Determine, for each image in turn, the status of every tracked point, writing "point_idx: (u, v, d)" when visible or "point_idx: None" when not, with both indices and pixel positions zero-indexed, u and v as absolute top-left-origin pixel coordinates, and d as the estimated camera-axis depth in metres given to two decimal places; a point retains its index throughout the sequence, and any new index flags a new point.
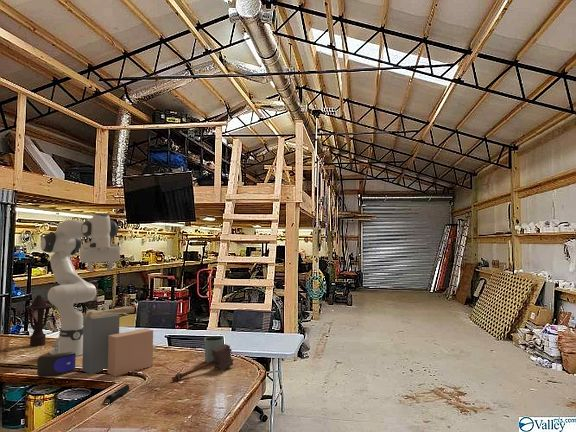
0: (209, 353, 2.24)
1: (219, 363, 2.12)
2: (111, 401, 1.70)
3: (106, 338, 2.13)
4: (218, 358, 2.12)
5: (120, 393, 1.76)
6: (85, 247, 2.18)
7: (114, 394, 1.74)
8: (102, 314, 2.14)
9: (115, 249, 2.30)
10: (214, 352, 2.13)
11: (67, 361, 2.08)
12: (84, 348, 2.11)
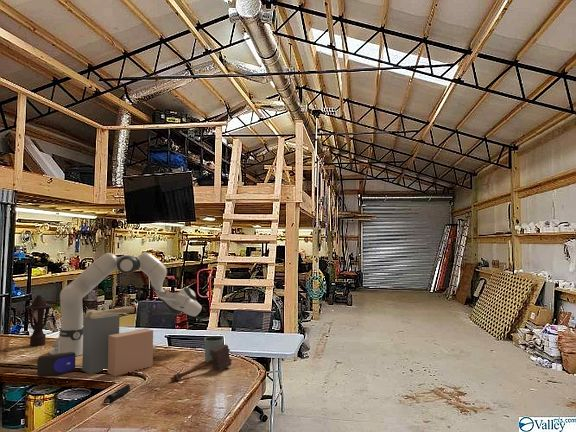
0: None
1: (217, 363, 2.12)
2: (111, 401, 1.70)
3: (106, 338, 2.13)
4: (216, 358, 2.12)
5: (120, 393, 1.77)
6: (185, 303, 2.44)
7: (114, 394, 1.74)
8: (102, 314, 2.14)
9: (166, 301, 2.53)
10: (212, 352, 2.13)
11: (67, 361, 2.08)
12: (84, 348, 2.11)
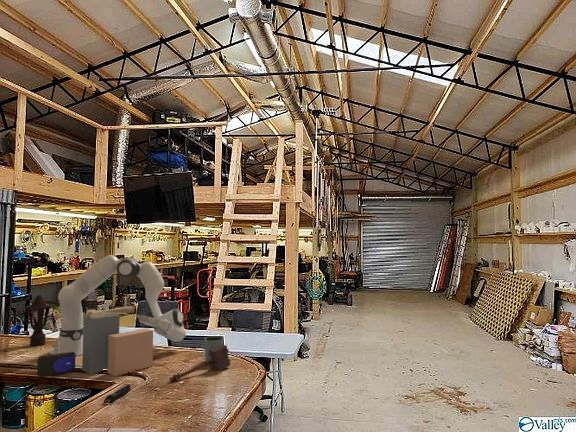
0: None
1: (216, 363, 2.12)
2: (111, 401, 1.70)
3: (106, 338, 2.13)
4: (215, 358, 2.12)
5: (121, 393, 1.77)
6: (168, 329, 2.35)
7: (115, 394, 1.74)
8: (102, 314, 2.14)
9: (149, 325, 2.44)
10: (211, 352, 2.13)
11: (67, 361, 2.08)
12: (84, 348, 2.11)
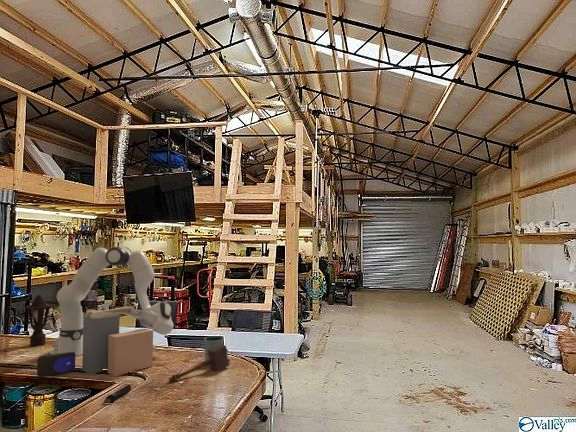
0: None
1: (215, 363, 2.12)
2: (112, 401, 1.70)
3: (106, 338, 2.13)
4: (214, 358, 2.11)
5: (121, 393, 1.77)
6: (154, 321, 2.29)
7: (115, 394, 1.74)
8: (102, 314, 2.14)
9: (135, 318, 2.37)
10: (210, 352, 2.12)
11: (67, 361, 2.08)
12: (84, 348, 2.11)
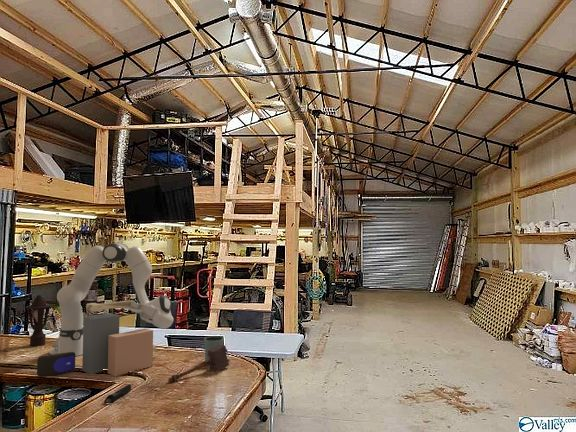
0: None
1: (215, 363, 2.11)
2: (112, 401, 1.70)
3: (106, 338, 2.13)
4: (214, 358, 2.11)
5: (121, 393, 1.77)
6: (154, 315, 2.29)
7: (115, 394, 1.74)
8: (102, 307, 2.15)
9: None
10: (210, 352, 2.12)
11: (67, 361, 2.08)
12: (84, 348, 2.11)
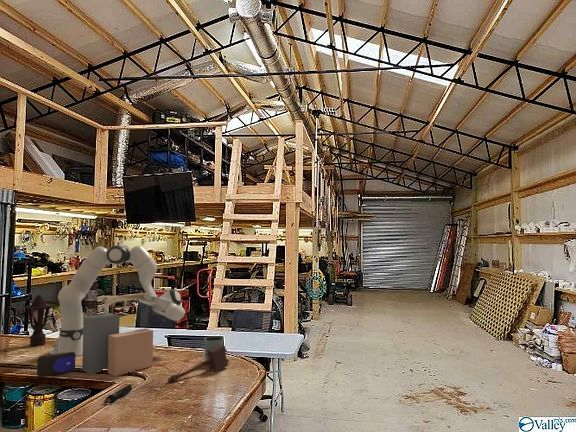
0: None
1: (214, 363, 2.11)
2: (112, 401, 1.70)
3: (106, 338, 2.13)
4: (213, 358, 2.11)
5: (122, 393, 1.77)
6: (166, 307, 2.35)
7: (116, 394, 1.74)
8: (117, 299, 2.20)
9: (148, 304, 2.43)
10: (209, 353, 2.12)
11: (67, 361, 2.08)
12: (84, 348, 2.11)
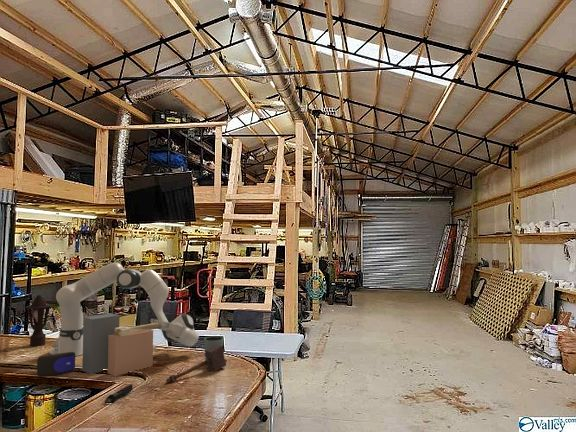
0: None
1: (212, 364, 2.11)
2: (112, 401, 1.70)
3: (106, 338, 2.13)
4: (211, 359, 2.11)
5: (122, 393, 1.77)
6: (181, 333, 2.26)
7: (116, 394, 1.74)
8: (130, 331, 2.12)
9: (161, 329, 2.35)
10: (207, 353, 2.12)
11: (67, 361, 2.08)
12: (84, 348, 2.11)
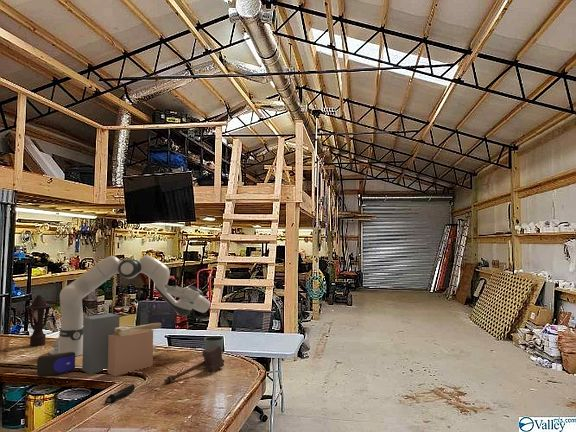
0: None
1: (210, 364, 2.11)
2: (112, 400, 1.70)
3: (106, 338, 2.13)
4: (209, 359, 2.10)
5: (123, 393, 1.77)
6: (195, 298, 2.39)
7: (117, 393, 1.74)
8: (130, 331, 2.12)
9: (175, 296, 2.48)
10: (205, 353, 2.11)
11: (67, 361, 2.08)
12: (84, 348, 2.11)
